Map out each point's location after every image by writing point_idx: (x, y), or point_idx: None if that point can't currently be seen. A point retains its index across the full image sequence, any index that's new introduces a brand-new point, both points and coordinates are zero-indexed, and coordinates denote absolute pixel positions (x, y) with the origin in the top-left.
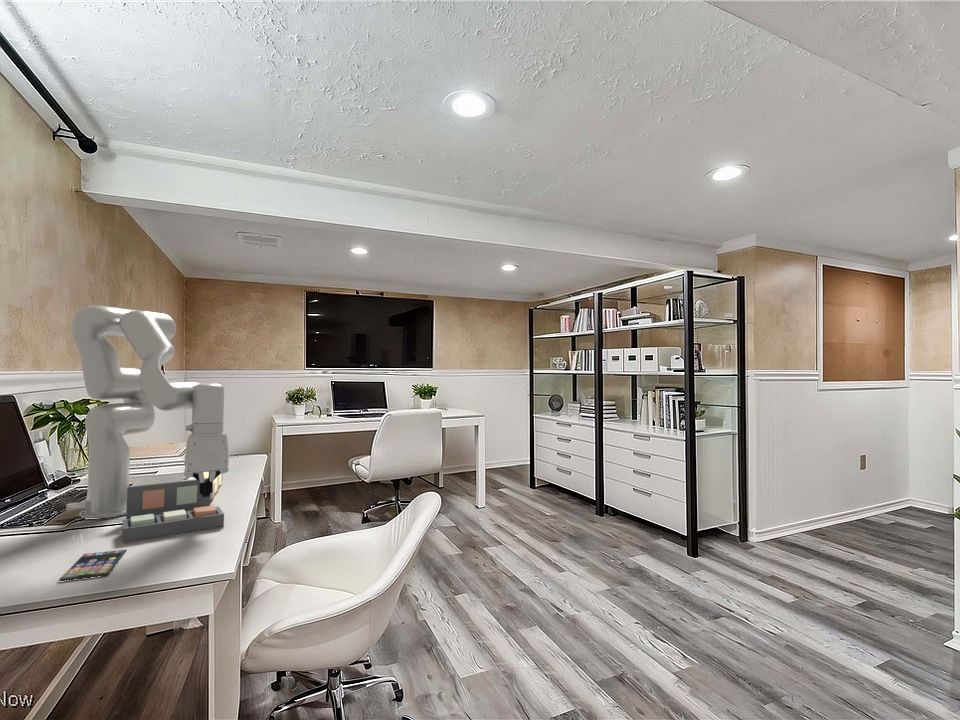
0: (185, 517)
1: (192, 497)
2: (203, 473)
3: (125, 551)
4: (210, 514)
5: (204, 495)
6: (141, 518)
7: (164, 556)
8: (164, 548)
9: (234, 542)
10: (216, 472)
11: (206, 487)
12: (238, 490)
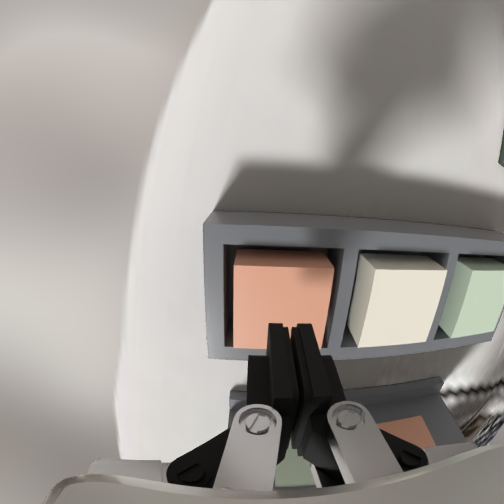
0: (373, 263)
1: (289, 448)
2: (354, 477)
3: (501, 150)
4: (263, 258)
5: (307, 327)
6: (489, 296)
7: (431, 31)
8: (432, 96)
9: (219, 5)
10: (206, 483)
11: (301, 368)
12: None
